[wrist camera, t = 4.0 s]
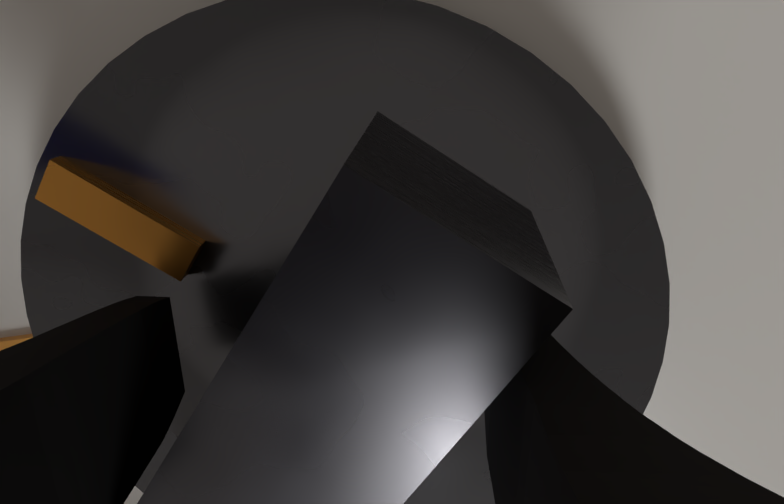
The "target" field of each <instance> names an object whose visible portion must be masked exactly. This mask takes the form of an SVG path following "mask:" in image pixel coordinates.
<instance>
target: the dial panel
mask: <svg viewBox="0 0 784 504" xmlns="http://www.w3.org/2000/svg"><path fill="white" fill-rule="evenodd" d="M222 1H225V0H0V351H1V350H3V349H6V348H8V347H11V346H13V345H16V344H18V343H21V342H23V341H26V340H28V339H31V338H33V335H32V331H31V328H30V325H29V321H28V318H27V314H26V307H25V301H24V294H23V288H22V281H21V234H22V227H23V219H24V212H25V205H26V200H27V197H28V194H29V190H30V187H31V183H32V180H33V177H34V173H35V170H36V167H37V164H38V162H39V160H40V158H41V156H42V154H43V151H44V149H45V147H46V145H47V143H48V141H49V139H50V137H51V135H52V133H53V130H54V129H55V127H56V126H57V124H58V123H59V121H60V120H61V118H62V117H63V116H64V114H65V113H66V111H67V110H68V108H69V107H70V105H71V104H72V103H73V101H74V100H75V98H76V97H77V95H78V94H79V93H80V92H81V91H82V90H83V89H84V88H85V87H86V86H87V85H88V84H89V83H90V82H91V81H92V79H93V78H94V77H95V76H96V75H97V74H98V73H99V72H100V71H101V70H102V69H103V68H104V67H105V66H106V65H107V64H108V63H109V62H110V61H112V60H113V59H114V58H116V57H117V56H118V55H120V54H121V53H122V52H124V51H125V50H126V49H128V48H129V47H130V46H132V45H133V44H134V43H136V42H137V41H138V40H140V39H141V38H142V37H144V36H145V35H147V34H149V33H151V32H153V31H155V30H157V29H158V28H160V27H162V26H164V25H166V24H168V23H170V22H172V21H174V20H175V19H177V18H179V17H181V16H183V15H185V14H187V13H190V12H193V11H196V10H199V9H202V8H205V7H207V6H210V5H213V4H216V3H219V2H222ZM417 1H421V2H425V3H429V4H433V5H436V6H439V7H442V8H444V9H447V10H449V11H451V12H454V13H456V14H459V15H461V16H463V17H466V18H468V19H471V20H473V21H476V22H478V23H480V24H483V25H485V26H487V27H489V28H491V29H492V30H494V31H496V32H497V33H499V34H501V35H502V36H504V37H506V38H508V39H509V40H511V41H513V42H514V43H516V44H518V45H519V46H521V47H523V48H524V49H526V50H528V51H529V52H531V53H532V54H534V55H535V56H536V57H537V58H539V59H540V60H541V61H542V62H544V63H545V64H546V65H547V66H549V67H550V68H551V69H552V70H554V71H555V72H556V73H557V74H559V75H560V76H561V77H562V78H563V79H565V80H566V81H567V82H568V83H570V84H571V85H572V86H573V87H574V88H575V89H576V90H577V92H578V93H579V94H580V95H581V96H582V97H583V98H584V99H585V100H586V101H587V102H588V103H589V104H590V106H591V107H592V108H593V109H594V110H595V111H596V112H597V113H598V114H599V115H600V116H601V117H602V119H603V120H604V121H605V122H606V124H607V125H608V126H609V128H610V129H611V131H612V132H613V134H614V135H615V137H616V138H617V140H618V141H619V143H620V144H621V146H622V147H623V148H624V150H625V151H626V153H627V154H628V156H629V157H630V159H631V160H632V162H633V164H634V166H635V169H636V171H637V173H638V175H639V177H640V179H641V181H642V183H643V185H644V187H645V189H646V191H647V193H648V195H649V198H650V200H651V202H652V205H653V209H654V212H655V215H656V219H657V222H658V225H659V228H660V232H661V235H662V238H663V241H664V247H665V254H666V261H667V268H668V275H669V282H670V305H669V328H668V334H667V340H666V346H665V352H664V358H663V363H662V366H661V369H660V372H659V375H658V378H657V382H656V385H655V388H654V391H653V394H652V397H651V399H650V401H649V403H648V405H647V407H646V409H645V411H644V413H643V415H644V416H646V417H647V418H649V419H650V420H652V421H653V422H655V423H656V424H658V425H659V426H661V427H662V428H664V429H665V430H666V431H668V432H669V433H671V434H672V435H674V436H675V437H677V438H678V439H680V440H682V441H683V442H685V443H686V444H688V445H690V446H691V447H693V448H695V449H696V450H698V451H699V452H701V453H703V454H705V455H706V456H708V457H710V458H712V459H713V460H715V461H717V462H719V463H720V464H722V465H724V466H726V467H728V468H729V469H731V470H733V471H735V472H736V473H738V474H740V475H742V476H743V477H745V478H747V479H749V480H751V481H753V482H755V483H757V484H759V485H761V486H763V487H765V488H767V489H769V490H770V491H772V492H774V493H776V494H778V495H780V496H782V497H784V0H417ZM142 495H143V492H142V491H140V490H139V489H138V488H137V487H136V486H135V487H134V488H133V490H132V491H131V493H130V494H129V496H128V498H127V499H126V501H125V502H124V504H137V503H138V501H139V500H140V498H141V496H142Z"/></svg>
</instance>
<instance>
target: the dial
mask: <svg viewBox="0 0 784 504" xmlns="http://www.w3.org/2000/svg"><path fill="white" fill-rule="evenodd" d="M21 281H22V288H23V294H24V301H25V307H26V314H27V318H28V321H29V325H30V328H31V331H32V335H33V337H35V336H37V335H40V334H42V333H44V332H47V331H49V330H51V329H54V328H56V327H58V326H61V325H63V324H65V323H68V322H70V321H72V320H75V319H77V318H79V317H82V316H84V315H86V314H89V313H91V312H94V311H96V310H98V309H101V308H103V307H106V306H108V305H111V304H114V303H116V302H119V301H122V300H125V299H128V298H132V297H135V296H156V297H170V302H171V308H172V314H173V320H174V326H175V332H176V338H177V345H178V351H179V357H180V363H181V369H182V375H183V381H184V388H185V393H184V395H183V398H182V400H181V403H180V405H179V407H178V410H177V412H176V414H175V417H174V419H173V421H172V423H171V425H170V428H169V430H168V432H167V434H166V436H165V438H164V440H163V442H162V443H161V445H160V447H159V448H158V450H157V452H156V453H155V455H154V456H153V458H152V460H151V461H150V463H149V464H148V466H147V468H146V469H145V471H144V472H143V474H142V476H141V477H140V479H139V480H138V482H137V483H136V485H135V486H136V487H137V488H138V489H139V490H140V491H142V492H143V495H142V496H141V498H140V500H139V501H138V503H137V504H495V499H494V494H493V488H492V482H491V477H490V471H489V465H488V460H487V450H486V434H485V415H484V411H485V409H486V408H487V407H488V406H489V405H490V404H491V403H492V401H493V400H494V399H495V398H496V397H497V396H498V395H499V393H500V392H501V391H502V390H503V389H504V388H505V387H506V385H507V384H508V383H509V382H510V381H511V380H512V379H513V377H514V376H515V375H516V374H517V373H518V372H519V371H520V369H521V368H522V367H523V366H524V365H525V364H526V363H527V361H528V360H529V359H530V358H531V357H532V356H533V354H534V353H535V352H536V351H537V350H538V349H539V348H540V346H541V345H542V344H543V343H544V342H545V341H546V340H547V338H548V337H549V336H550V335H552V336H553V337H554V338H555V339H556V340H557V341H558V342H559V343H560V344H561V345H562V346H563V347H564V348H565V349H566V350H567V351H568V352H569V353H570V354H571V355H572V356H573V357H574V358H575V359H576V360H577V361H578V362H579V363H581V364H582V365H583V366H584V367H585V368H586V369H587V370H588V371H589V372H591V373H592V374H593V375H594V376H595V377H596V378H597V379H598V380H600V381H601V382H602V383H603V384H605V385H606V386H607V387H608V388H610V389H611V390H612V391H613V392H614V393H616V394H617V395H618V396H619V397H621V398H622V399H623V400H624V401H626V402H627V403H628V404H629V405H631V406H632V407H634V408H635V409H636V410H638V411H639V412H640V413H642V414H643V413H644V411H645V409H646V407H647V405H648V403H649V401H650V399H651V397H652V394H653V391H654V388H655V385H656V382H657V378H658V375H659V372H660V369H661V366H662V363H663V358H664V352H665V346H666V340H667V334H668V328H669V305H670V282H669V275H668V268H667V261H666V254H665V247H664V241H663V238H662V235H661V232H660V228H659V225H658V222H657V219H656V215H655V212H654V209H653V205H652V202H651V200H650V198H649V195H648V193H647V191H646V189H645V187H644V185H643V183H642V181H641V179H640V177H639V175H638V173H637V171H636V169H635V166H634V164H633V162H632V160H631V159H630V157H629V156H628V154H627V153H626V151H625V150H624V148H623V147H622V146H621V144H620V143H619V141H618V140H617V138H616V137H615V135H614V134H613V132H612V131H611V129H610V128H609V126H608V125H607V124H606V122H605V121H604V120H603V119H602V117H601V116H600V115H599V114H598V113H597V112H596V111H595V110H594V109H593V108H592V107H591V106H590V104H589V103H588V102H587V101H586V100H585V99H584V98H583V97H582V96H581V95H580V94H579V93H578V92H577V90H576V89H575V88H574V87H573V86H572V85H571V84H570V83H568V82H567V81H566V80H565V79H563V78H562V77H561V76H560V75H559V74H557V73H556V72H555V71H554V70H552V69H551V68H550V67H549V66H547V65H546V64H545V63H544V62H542V61H541V60H540V59H539V58H537V57H536V56H535V55H534V54H532V53H531V52H529V51H528V50H526V49H524V48H523V47H521V46H519V45H518V44H516V43H514V42H513V41H511V40H509V39H508V38H506V37H504V36H502V35H501V34H499V33H497V32H496V31H494V30H492V29H491V28H489V27H487V26H485V25H483V24H480V23H478V22H476V21H473V20H471V19H468V18H466V17H463V16H461V15H459V14H456V13H454V12H451V11H449V10H447V9H444V8H442V7H439V6H436V5H433V4H429V3H425V2H421V1H417V0H225V1H222V2H219V3H216V4H213V5H210V6H207V7H205V8H202V9H199V10H196V11H193V12H190V13H187V14H185V15H183V16H181V17H179V18H177V19H175V20H174V21H172V22H170V23H168V24H166V25H164V26H162V27H160V28H158V29H157V30H155V31H153V32H151V33H149V34H147V35H145V36H144V37H142V38H141V39H140V40H138V41H137V42H136V43H134V44H133V45H132V46H130V47H129V48H128V49H126V50H125V51H124V52H122V53H121V54H120V55H118V56H117V57H116V58H114V59H113V60H112V61H110V62H109V63H108V64H107V65H106V66H105V67H104V68H103V69H102V70H101V71H100V72H99V73H98V74H97V75H96V76H95V77H94V78H93V79H92V81H91V82H90V83H89V84H88V85H87V86H86V87H85V88H84V89H83V90H82V91H81V92H80V93H79V94H78V95H77V97H76V98H75V100H74V101H73V103H72V104H71V105H70V107H69V108H68V110H67V111H66V113H65V114H64V116H63V117H62V118H61V120H60V121H59V123H58V124H57V126H56V127H55V129H54V130H53V133H52V135H51V137H50V139H49V141H48V143H47V145H46V147H45V149H44V151H43V154H42V156H41V158H40V160H39V162H38V164H37V167H36V170H35V173H34V177H33V180H32V183H31V187H30V190H29V194H28V197H27V200H26V205H25V212H24V219H23V227H22V234H21Z"/></svg>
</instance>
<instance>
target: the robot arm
mask: <svg viewBox="0 0 784 504" xmlns="http://www.w3.org/2000/svg"><path fill="white" fill-rule="evenodd" d="M184 393H185V388H184V381H183V375H182V369H181V363H180V357H179V351H178V345H177V338H176V332H175V326H174V320H173V314H172V308H171V302H170V297H156V296H135V297H132V298H128V299H125V300H122V301H119V302H116V303H114V304H111V305H108V306H106V307H103V308H101V309H98V310H96V311H94V312H91V313H89V314H86V315H84V316H82V317H79V318H77V319H75V320H72V321H70V322H68V323H65V324H63V325H61V326H58V327H56V328H54V329H51V330H49V331H47V332H44V333H42V334H40V335H37V336H35V337H33V338H31V339H28V340H26V341H23V342H21V343H18V344H16V345H13V346H11V347H8V348H6V349H3V350H1V351H0V504H124V502H125V501H126V499H127V498H128V496H129V494H130V493H131V491H132V490H133V488H134V487H135V485H136V483H137V482H138V480H139V479H140V477H141V476H142V474H143V472H144V471H145V469H146V468H147V466H148V464H149V463H150V461H151V460H152V458H153V456H154V455H155V453H156V452H157V450H158V448H159V447H160V445H161V443H162V442H163V440H164V438H165V436H166V434H167V432H168V430H169V428H170V425H171V423H172V421H173V419H174V417H175V414H176V412H177V410H178V407H179V405H180V403H181V400H182V398H183V395H184ZM484 415H485V434H486V450H487V460H488V465H489V471H490V477H491V482H492V488H493V494H494V499H495V504H784V497H782V496H780V495H778V494H776V493H774V492H772V491H770V490H769V489H767V488H765V487H763V486H761V485H759V484H757V483H755V482H753V481H751V480H749V479H747V478H745V477H743V476H742V475H740V474H738V473H736V472H735V471H733V470H731V469H729V468H728V467H726V466H724V465H722V464H720V463H719V462H717V461H715V460H713V459H712V458H710V457H708V456H706V455H705V454H703V453H701V452H699V451H698V450H696V449H695V448H693V447H691V446H690V445H688V444H686V443H685V442H683V441H682V440H680V439H678V438H677V437H675V436H674V435H672V434H671V433H669V432H668V431H666V430H665V429H664V428H662V427H661V426H659V425H658V424H656V423H655V422H653V421H652V420H650V419H649V418H647V417H646V416H644V415H643V414H642V413H640V412H639V411H638V410H636V409H635V408H634V407H632V406H631V405H629V404H628V403H627V402H626V401H624V400H623V399H622V398H621V397H619V396H618V395H617V394H616V393H614V392H613V391H612V390H611V389H610V388H608V387H607V386H606V385H605V384H603V383H602V382H601V381H600V380H598V379H597V378H596V377H595V376H594V375H593V374H592V373H591V372H589V371H588V370H587V369H586V368H585V367H584V366H583V365H582V364H581V363H579V362H578V361H577V360H576V359H575V358H574V357H573V356H572V355H571V354H570V353H569V352H568V351H567V350H566V349H565V348H564V347H563V346H562V345H561V344H560V343H559V342H558V341H557V340H556V339H555V338H554V337H553V336H552V335H550V336H549V337H548V338H547V340H546V341H545V342H544V343H543V344H542V345H541V346H540V348H539V349H538V350H537V351H536V352H535V353H534V354H533V356H532V357H531V358H530V359H529V360H528V361H527V363H526V364H525V365H524V366H523V367H522V368H521V369H520V371H519V372H518V373H517V374H516V375H515V376H514V377H513V379H512V380H511V381H510V382H509V383H508V384H507V385H506V387H505V388H504V389H503V390H502V391H501V392H500V393H499V395H498V396H497V397H496V398H495V399H494V400H493V401H492V403H491V404H490V405H489V406H488V407H487V408H486V409H485V411H484Z"/></svg>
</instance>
